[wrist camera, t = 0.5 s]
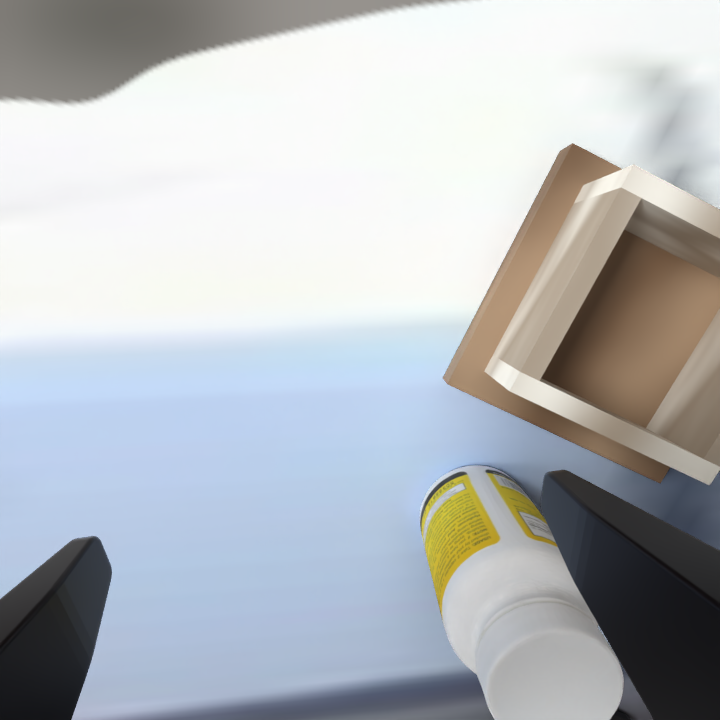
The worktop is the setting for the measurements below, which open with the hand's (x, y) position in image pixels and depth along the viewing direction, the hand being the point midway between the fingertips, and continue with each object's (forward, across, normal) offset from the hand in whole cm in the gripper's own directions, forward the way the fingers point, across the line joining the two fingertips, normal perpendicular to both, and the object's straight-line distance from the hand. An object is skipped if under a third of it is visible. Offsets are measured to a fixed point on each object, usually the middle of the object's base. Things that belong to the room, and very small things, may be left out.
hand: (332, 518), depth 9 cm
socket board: (+11, -13, +1) cm, 17 cm away
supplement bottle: (+10, -7, +10) cm, 16 cm away
